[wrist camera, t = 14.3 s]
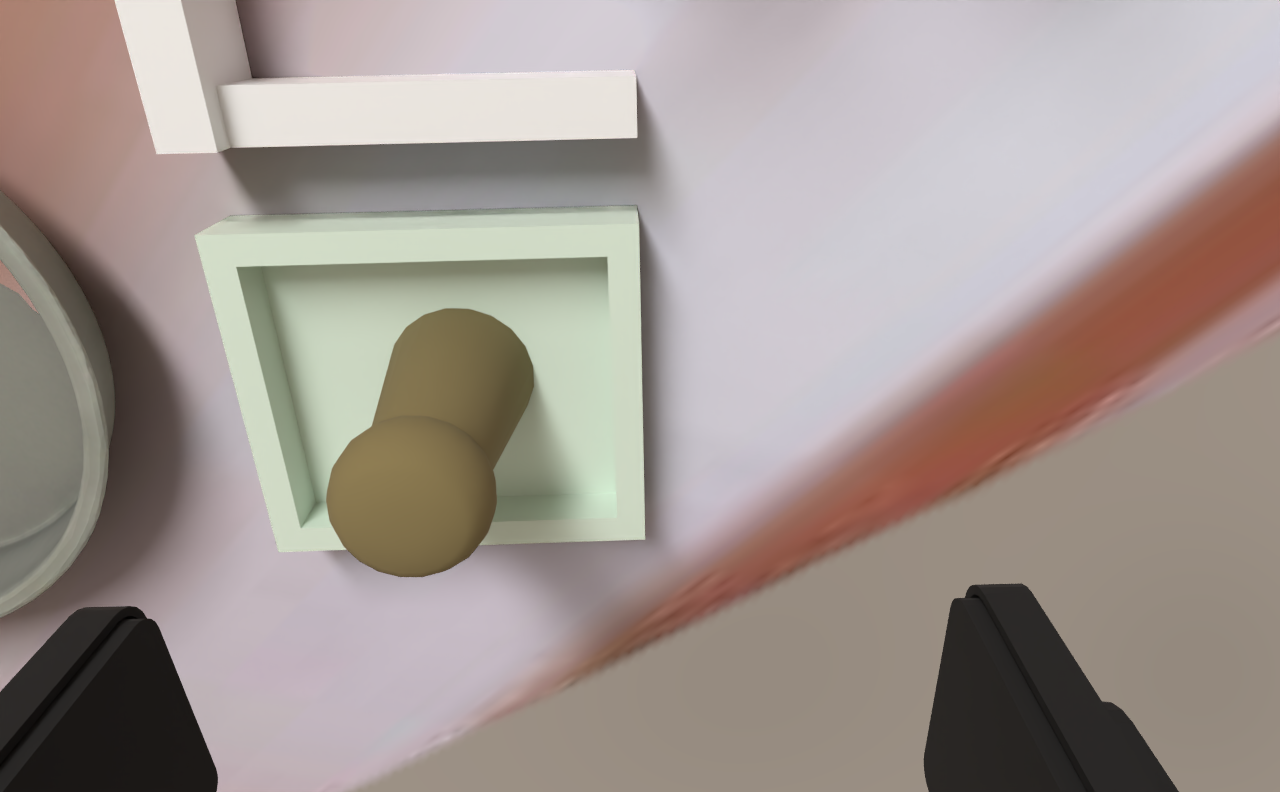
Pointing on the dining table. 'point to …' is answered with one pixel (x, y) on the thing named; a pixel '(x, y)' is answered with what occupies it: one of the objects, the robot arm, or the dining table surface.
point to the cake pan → (47, 415)
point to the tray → (396, 297)
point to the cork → (432, 445)
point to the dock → (344, 94)
